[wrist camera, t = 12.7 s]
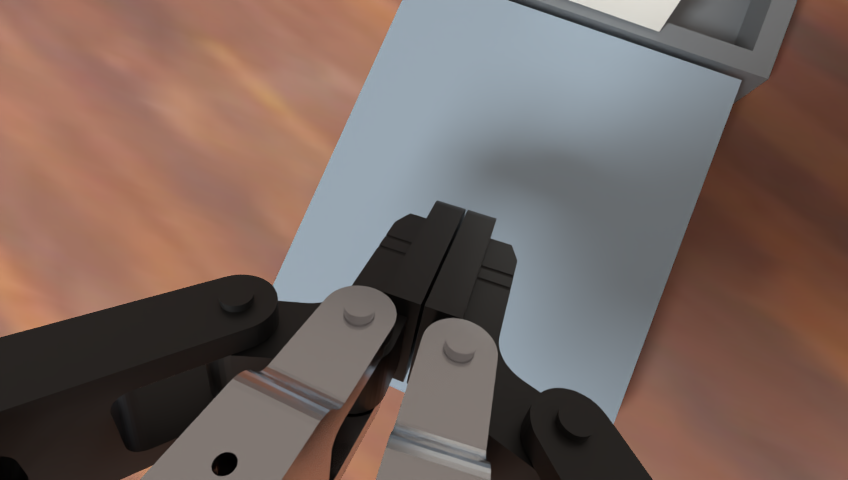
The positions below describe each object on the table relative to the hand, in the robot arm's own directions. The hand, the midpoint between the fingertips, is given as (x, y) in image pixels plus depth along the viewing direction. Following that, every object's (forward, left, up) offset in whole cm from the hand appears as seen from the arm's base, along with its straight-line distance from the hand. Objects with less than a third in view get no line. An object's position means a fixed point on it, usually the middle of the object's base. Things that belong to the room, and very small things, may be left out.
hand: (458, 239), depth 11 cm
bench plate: (+1, +2, -7) cm, 7 cm away
